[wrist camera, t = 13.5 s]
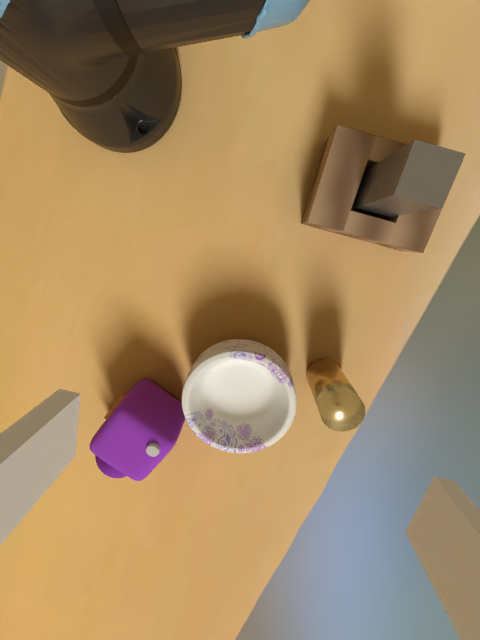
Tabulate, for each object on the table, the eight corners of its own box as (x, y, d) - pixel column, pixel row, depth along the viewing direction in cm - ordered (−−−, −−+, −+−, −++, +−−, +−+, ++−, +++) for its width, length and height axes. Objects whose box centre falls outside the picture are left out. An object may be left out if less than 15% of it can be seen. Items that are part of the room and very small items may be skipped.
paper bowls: (296, 336, 42) (306, 357, 35) (283, 424, 46) (289, 461, 39) (194, 326, 43) (181, 345, 35) (190, 414, 47) (178, 448, 39)
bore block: (301, 223, 38) (307, 221, 33) (326, 140, 35) (337, 124, 30) (402, 251, 38) (423, 252, 33) (434, 170, 35) (463, 160, 31)
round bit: (302, 385, 44) (314, 425, 35) (312, 355, 43) (329, 388, 33) (334, 393, 44) (355, 435, 35) (346, 363, 43) (372, 399, 33)
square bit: (343, 211, 37) (393, 195, 24) (355, 176, 36) (414, 139, 23) (374, 219, 37) (441, 208, 24) (387, 185, 36) (465, 153, 23)
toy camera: (104, 432, 49) (67, 479, 39) (134, 368, 45) (101, 402, 35) (161, 459, 50) (139, 511, 40) (195, 398, 46) (179, 440, 36)
